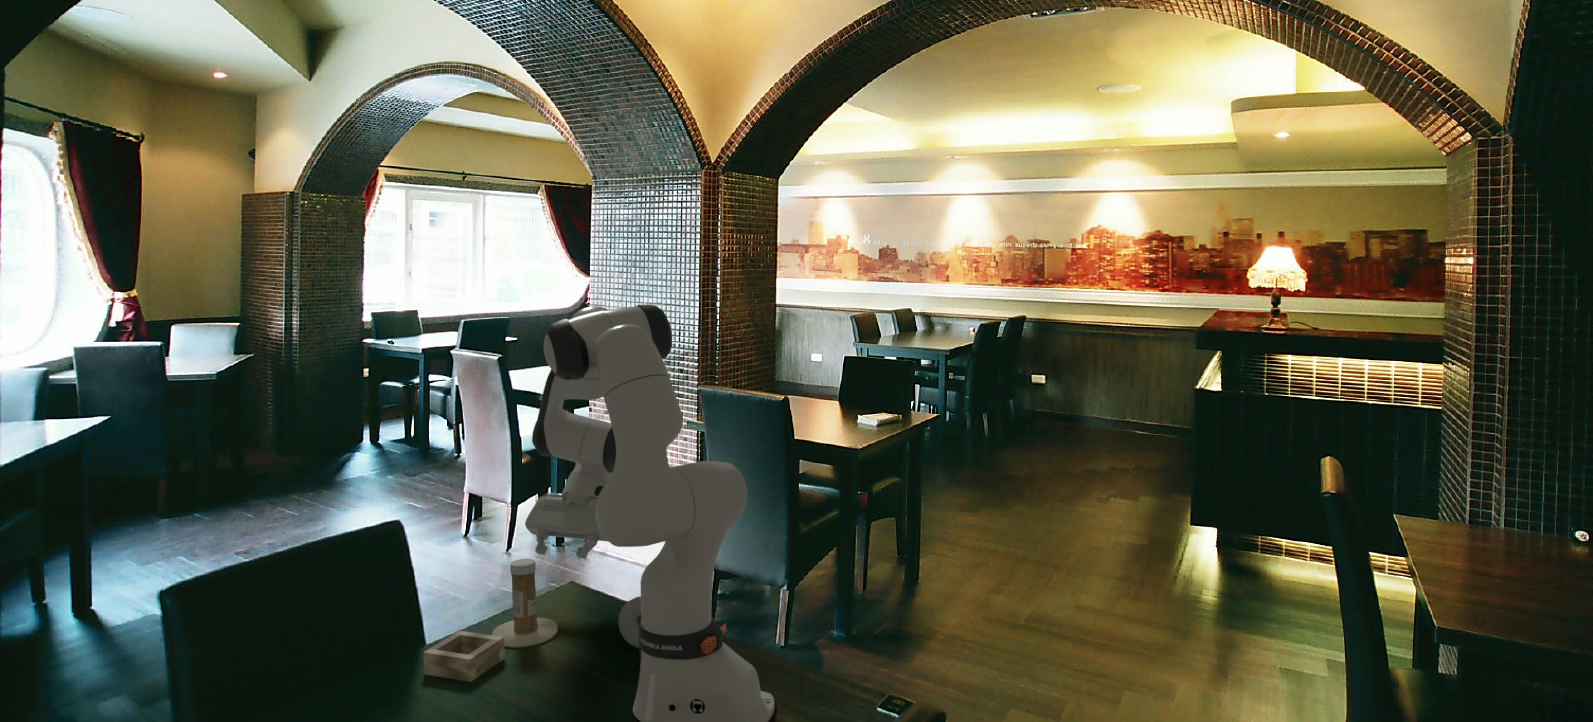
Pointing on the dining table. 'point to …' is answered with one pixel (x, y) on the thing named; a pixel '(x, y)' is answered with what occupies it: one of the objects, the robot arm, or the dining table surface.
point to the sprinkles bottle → (524, 595)
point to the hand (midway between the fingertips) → (559, 555)
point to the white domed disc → (513, 639)
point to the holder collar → (464, 656)
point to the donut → (630, 621)
